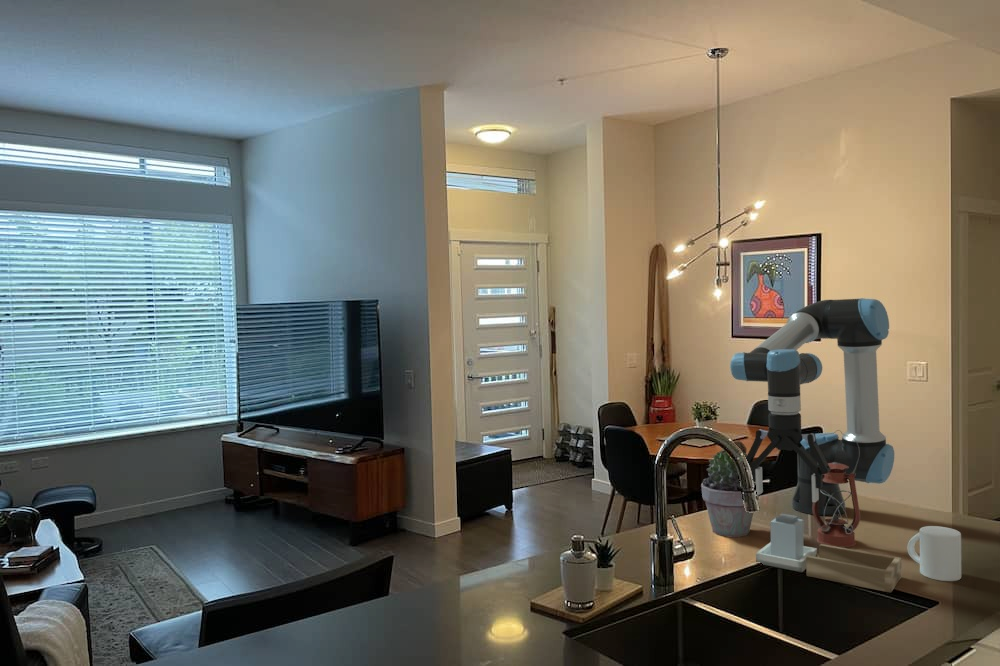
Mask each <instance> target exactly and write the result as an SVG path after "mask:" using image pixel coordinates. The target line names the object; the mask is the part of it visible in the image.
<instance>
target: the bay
mask: <svg viewBox="0 0 1000 666" xmlns="http://www.w3.org/2000/svg"><path fill="white" fill-rule="evenodd" d="M805 570H806V573H805V574H806V576H807V577H811V578H814V579H815V578H816V579H821V580H826V581H831V582H836V583H840V584H846V585H851V586H857V587H860V588H866V589H871V590H876V591H879V592H880V591H881V592H886V593H892V592H893V590H894V588H895V587H896V586H897V584H898V583H899V581H900V580H901V578H902V557H898V556H892V555H887V554H881V553H874V552H870V551H864V550H859V549H852V548H848V547H835V546H829V545H824V544H822V543H820V544H819V545H818V556H817V557H814V556H807V557H806V569H805Z"/></svg>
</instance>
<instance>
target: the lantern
mask: <svg viewBox="0 0 1000 666" xmlns="http://www.w3.org/2000/svg"><path fill="white" fill-rule="evenodd" d="M839 431H840V433H841V434H842V435H844V433H843V432H842V431H841V430H840V429H838V430H836V431H835V432H828V433H829V434H832V433H834V434H836V432H839ZM824 435H826V434H824ZM820 436H822V435H820ZM845 436H847V435H845ZM818 437H819V436H818ZM818 437H817V438H818ZM848 437H849V436H848ZM817 438H816V440H817ZM850 438H852V437H850ZM852 439H853V438H852ZM854 440H855V439H854ZM855 441H856V440H855ZM856 443H857V442H856ZM857 445H858V443H857ZM858 448H859V446H858ZM859 455H860V450H859ZM858 460H859V457H858ZM817 463H818V462H817ZM857 463H858V461H857ZM828 465H829V467H830V469H831V470H830V471H829V472H828V473H827V474H823V475H822V476H824V478H823V481H824V482H827V483H834V484H839V485H841V484H849V488H850V491H848V490H844V489H843V490H841V491H837V492H841V493H842V492H845V493H849V495H848V496H847V497H846V498H845V499H844V501H843V502H845V503H846V501H847V500H848V499H850V497H851V501H852V507H853V519H852V522H851V523H850V524H849V519H848V515H847V512H846V509H845V510H844V508H843V506H842V505H841V504H842V503H843V502H842V503H840V502H839V501H838V500H837V499H836V498H834V497H832V495H834V494H835V493H837V492H835V493H833V494H832V495H830V494H829V493H827V492H826V491H824V490H822V489H821V490H822V491H824V492H826V493H827V494H828V495H827V494H825V493H823V492H822V491H821V490H820V488H818V491H819V494H820V491H821V493H823V494H824V495H827V496H829V497H830V498H831V497H832V499H833V498H834V499H835V500H836V501H838V502H839V503H840V505H841V506H842V508H843V510H844V514H845V517H846V520H847V521H846V520H845V519H843V517H842V515H841V514H842V513H841V514H835V513H836V511H837V509H838V511H839V506H840V505H839V506H837V504H836V506H837V509H836V511H835V513H834V514H833V515H832V518H831V517H830V518H825V516H826V515H825V510H824V515H823V519H822V517H821V515H819V513H818V502H819V500H818V501H817V502H813V506H812V511H813V514H812V515H813V517H814V520H815V521H816V523H817V524H818V525H819V526H820V527H818V529H817V538H816V541H817V543H820V544H824V545H829V546H835V547H841V548H851V547H854V546H856V544H857V543H856V539H855V538H856V536H855V530H856V529H857V527H858V526H859V524H860V521H861V513H860V506H859V505H860V504H859V501H858V500H859V498H858V493H857V486H856V481H855V479H854V477H855V475H856V473H855V472H854V471H855V470H856V467H855V469H854V471H853V472H852V473H851V474H846V471H844V469H845V468H849V466H846V465H844V464H840V463H837V462H834V463H828ZM856 466H857V464H856ZM853 473H854V474H853ZM847 479H848V480H847ZM830 498H829V500H830ZM834 499H833V500H834ZM829 500H828V501H829ZM835 500H834V501H835ZM835 503H836V502H835ZM827 504H828V502H827ZM827 504H826V506H827ZM825 509H826V507H825ZM839 513H840V511H839ZM840 518H841V519H840ZM823 520H824V521H823Z"/></svg>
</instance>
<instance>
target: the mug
mask: <svg viewBox="0 0 1000 666" xmlns="http://www.w3.org/2000/svg"><path fill="white" fill-rule="evenodd" d="M917 541H919V554H918V553H917V552H916V550H915V545H916V543H917ZM906 547H907V548H906V550H907V553H908V555H909V556H910V558H911V559H912V560H913V561H914V562H916V563H918V564H919V573H920V574H921V575H922V576H924V577H926V578H928V579H930V580H931V579H932V580H935V581H942V582H957V581H959V580H960V579H962V533H961V532H960V531H958V530H957V529H954V528H950V527H945V526H938V525H927V526H926V525H925V526H922V527H920V528H919V532H917V533H916V534H915V535H913V536H912V537H911V538H910V540H909V541H908V543H907V546H906Z"/></svg>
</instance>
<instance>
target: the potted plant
mask: <svg viewBox="0 0 1000 666" xmlns="http://www.w3.org/2000/svg"><path fill="white" fill-rule="evenodd" d="M733 442H734V443H735V444H736V445H737V446H738V447H739V448H740V449H741V451H742V452H743V454H744V455H745V457H747V455H748V453H747V450H748V449H747V447H746V446H745V444H744V443H743V442H742V441H740V440H734V441H732V443H733ZM709 456H712V458H711V459H708V462H709V464H708V465H705V467H706V466H708V468H706V472H707V474H708V477H707V478H704V479H703V480H702V482H701V484H700V486H699V487H698V488H697V489H699V488H700V487H701V494H702V495H701V496H702V499H703V501H704V502H705V505H706V509H707V514H708V518H709V522H710V525H711V529H712V533H714V534H716V535H718V536H722V537H727V538H739V537H738V536H741V537H745V536H748V535H749V533H750V529H751V524H752V520H753V516H754V512H753V513H749V512H746V511H745V508H744V504H743V499H742V494H741V488H740V482H739V479H738V475H737V471H736V468H735V466H734V463H733V461H732V459H731V458H730V456H729V455H728V453H727V452H726V451H725V450H724V448H723V449H722V450H720V451H717V452H716V454H709ZM754 483H755V485H756V482H754ZM759 498H760V495H758V499H759ZM747 534H748V535H747ZM744 535H745V536H744Z"/></svg>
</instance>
